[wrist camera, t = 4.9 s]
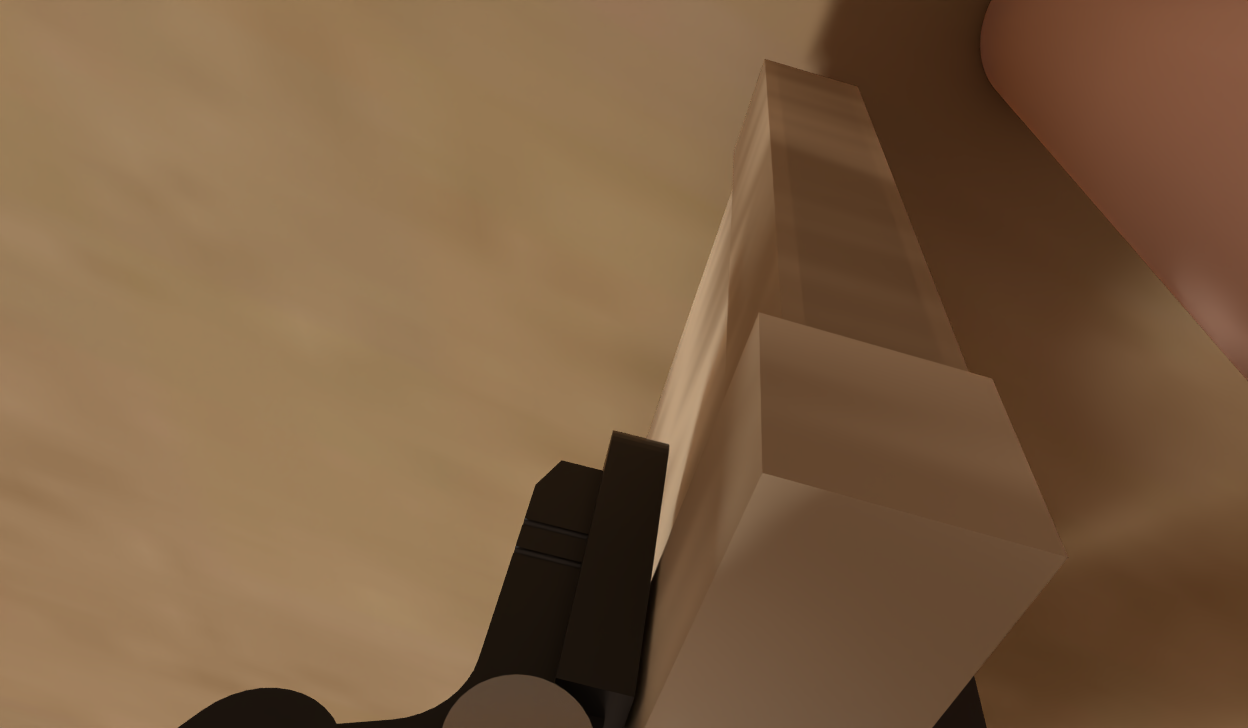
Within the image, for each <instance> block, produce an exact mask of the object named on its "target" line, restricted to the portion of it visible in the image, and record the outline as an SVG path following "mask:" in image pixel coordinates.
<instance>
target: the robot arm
mask: <svg viewBox="0 0 1248 728" xmlns="http://www.w3.org/2000/svg"><path fill="white" fill-rule="evenodd" d="M668 456H669V444H666V443H662V442H658V441H654V440H650V439H646V438H642V437H638V436H634V435H630V434H626V433H622V432H618V431H614V430H613V433H612V436H611V440H610V444H609V448H608V452H607V455H606V459H605V463H604V467H603V471H602V470H598V469H594V468H590V467H586V466H582V465H578V464H574V463H570V462H566V461H561V462H559V463H558V464H557V465H556V466H555V467H554V468H553V469H552V470H551V471H550V472H549V473H548V474H547V475H546V476H545V477H544V478H542V479H541V480H540V481H539V482H538V483H537V484H536V485H535V488H534V491H533V494H532V497H531V501H530V504H529V507H528V510H527V513H526V516H525V519H524V523H523V525H522V528H521V531H520V534H519V537H518V540H517V543H516V547H515V551H514V553H513V556H512V559H511V562H510V565H509V568H508V571H507V574H506V577H505V580H504V583H503V586H502V589H501V592H500V595H499V598H498V601H497V605H496V608H495V611H494V614H493V617H492V620H491V623H490V626H489V629H488V632H487V635H486V638H485V641H484V644H483V647H482V650H481V653H480V656H479V659H478V662H477V664H476V666H475V669H474V671H473V672H472V674H471V675H470V677H469V678H468V680H467V681H466V682H465V684H464V685H463V686H462V687H461V688H460V689H459V690H458V691H457V692H456V693H455V694H454V695H452V696H451V697H450V698H449V699H448V700H446V701H444V702H443V703H441V704H440V705H438V706H436V707H435V708H432V709H430V710H428V711H425V712H423V713H421V714H417V715H414V716H410V717H407V718H400V719H393V720H381V721H368V722H355V723H342V724H336V722H335V720H334V718H333V717H332V716H331V714H330V713H329V712H328V711H327V710H326V709H325V707H323V706H322V705H321V704H319V703H318V702H317V701H316V700H314V699H312V698H310V697H308V696H306V695H304V694H302V693H299V692H296V691H292V690H288V689H281V688H259V689H253V690H246V691H243V692H240V693H236V694H233V695H230V696H228V697H226V698H223V699H221V700H219V701H217V702H215V703H213V704H212V705H210V706H208V707H207V708H205V709H204V710H202V711H201V712H199V713H198V714H196V715H195V716H194V717H192V718H191V719H189V720H188V721H187V722H185V723H184V724H182V725H181V726H180V727H178V728H624V725H625V722H626V720H627V717H628V714H629V712H630V709H631V706H632V703H633V701H634V698H635V691H636V684H637V677H638V670H639V663H640V656H641V649H642V642H643V634H644V627H645V620H646V613H647V606H648V599H649V592H650V585H651V577H652V570H653V563H654V556H655V549H656V542H657V535H658V527H659V520H660V513H661V506H662V499H663V492H664V485H665V478H666V470H667V463H668ZM932 728H986V723H985V719H984V715H983V711H982V707H981V703H980V698H979V694H978V690H977V686H976V682H975V678H974V676H973V677H972V678H971V680H970V681H969V682H968V683H967V685H966V686H965V687H964V689H963V690H962V691H961V692H960V694H959V695H958V696H957V697H956V699H955V700H954V701H953V702H952V704H951V705H950V706H949V707H948V709H947V710H946V711H945V712H944V714H943V715H942V716H941V717H940V719H939V720H938V721H937V722H936V724H935V725H934V726H933V727H932Z"/></svg>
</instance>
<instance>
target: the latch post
mask: <svg viewBox="0 0 1248 728" xmlns="http://www.w3.org/2000/svg"><path fill="white" fill-rule="evenodd" d="M980 52H981V60H982V64H983V68H984V71H985V73H986V75H987V78H988V80H989V81H990V83H991V85H992V86H993V88H994V89H995V90H996V91H997V92H998V93H999V95H1000V96H1001V97H1002V98H1003V99H1004V100H1005V102H1006V103H1007V104H1008V105H1009V106H1010V107H1011V108H1012V110H1013V111H1014V112H1015V113H1016V114H1017V115H1018V117H1019V118H1020V119H1021V120H1022V121H1023V122H1024V123H1025V125H1026V126H1027V127H1028V128H1029V129H1030V130H1031V132H1032V133H1033V134H1034V135H1035V136H1036V137H1037V138H1038V140H1039V141H1040V142H1041V143H1042V144H1043V145H1044V147H1045V148H1046V149H1047V150H1048V151H1049V152H1050V153H1051V155H1052V156H1053V157H1054V158H1055V159H1056V160H1057V162H1058V163H1059V164H1060V165H1061V166H1062V167H1063V168H1064V170H1065V171H1066V172H1067V173H1068V174H1069V175H1070V177H1071V178H1072V179H1073V180H1074V181H1075V182H1076V183H1077V185H1078V186H1079V187H1080V188H1081V189H1082V190H1083V192H1084V193H1085V194H1086V195H1087V196H1088V197H1089V198H1090V200H1091V201H1092V202H1093V203H1094V204H1095V205H1096V207H1097V208H1098V209H1099V210H1100V211H1101V212H1102V213H1103V215H1104V216H1105V217H1106V218H1107V219H1108V220H1109V222H1110V223H1111V224H1112V225H1113V226H1114V227H1115V228H1116V230H1117V231H1118V232H1119V233H1120V234H1121V235H1122V237H1123V238H1124V239H1125V240H1126V241H1127V242H1128V243H1129V245H1130V246H1131V247H1132V248H1133V249H1134V250H1135V252H1136V253H1137V254H1138V255H1139V256H1140V257H1141V258H1142V260H1143V261H1144V262H1145V263H1146V264H1147V265H1148V266H1149V268H1150V269H1151V270H1152V271H1153V272H1154V273H1155V275H1156V276H1157V277H1158V278H1159V279H1160V280H1161V281H1162V283H1163V284H1164V285H1165V286H1166V287H1167V288H1168V290H1169V291H1170V292H1171V293H1172V294H1173V295H1174V296H1175V298H1176V299H1177V300H1178V301H1179V302H1180V303H1181V305H1182V306H1183V307H1184V308H1185V309H1186V310H1187V311H1188V313H1189V314H1190V315H1191V316H1192V317H1193V318H1194V320H1195V321H1196V322H1197V323H1198V324H1199V325H1200V326H1201V328H1202V329H1203V330H1204V331H1205V332H1206V333H1207V335H1208V336H1209V337H1210V338H1211V339H1212V340H1213V341H1214V343H1215V344H1216V345H1217V346H1218V347H1219V348H1220V350H1221V351H1222V352H1223V353H1224V354H1225V355H1226V356H1227V358H1228V359H1229V360H1230V361H1231V362H1232V363H1233V365H1234V366H1235V367H1236V368H1237V369H1238V370H1239V371H1240V373H1241V374H1242V375H1243V376H1244V377H1245V378H1246V380H1247V381H1248V0H991V1H990V4H989V6H988V8H987V11H986V13H985V17H984V20H983V24H982V29H981V35H980Z"/></svg>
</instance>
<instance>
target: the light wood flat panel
mask: <svg viewBox="0 0 1248 728" xmlns="http://www.w3.org/2000/svg"><path fill="white" fill-rule="evenodd" d="M646 439H650V440H654V441H658V442H662V443H666V444H669V456H668V463H667V470H666V478H665V485H664V492H663V499H662V506H661V513H660V520H659V527H658V535H657V542H656V549H655V556H654V563H653V570H652V577H651V585H650V592H649V599H648V606H647V613H646V620H645V627H644V634H643V642H642V649H641V656H640V663H639V670H638V677H637V684H636V691H635V698H634V701H633V703H632V706H631V709H630V712H629V714H628V717H627V720H626V722H625V725H624V728H932V727H933V726H934V725H935V724H936V722H937V721H938V720H939V719H940V717H941V716H942V715H943V714H944V712H945V711H946V710H947V709H948V707H949V706H950V705H951V704H952V702H953V701H954V700H955V699H956V697H957V696H958V695H959V694H960V692H961V691H962V690H963V689H964V687H965V686H966V685H967V683H968V682H969V681H970V680H971V678H972V677H973V676H974V675H975V673H976V672H977V671H978V670H979V668H980V667H981V666H982V665H983V663H984V662H985V661H986V660H987V658H988V657H989V656H990V655H991V653H992V652H993V651H994V650H995V648H996V647H997V646H998V645H999V643H1000V642H1001V641H1002V640H1003V638H1004V637H1005V636H1006V635H1007V633H1008V632H1009V631H1010V630H1011V628H1012V627H1013V626H1014V625H1015V623H1016V622H1017V621H1018V620H1019V618H1020V617H1021V616H1022V615H1023V613H1024V612H1025V611H1026V610H1027V608H1028V607H1029V606H1030V605H1031V603H1032V602H1033V601H1034V600H1035V598H1036V597H1037V596H1038V595H1039V593H1040V592H1041V591H1042V590H1043V588H1044V587H1045V586H1046V585H1047V583H1048V582H1049V581H1050V580H1051V578H1052V577H1053V576H1054V575H1055V573H1056V572H1057V571H1058V570H1059V568H1060V567H1061V566H1062V565H1063V563H1064V562H1065V561H1066V560H1067V558H1068V555H1067V553H1066V551H1065V548H1064V546H1063V544H1062V541H1061V539H1060V537H1059V534H1058V532H1057V530H1056V527H1055V525H1054V523H1053V520H1052V518H1051V516H1050V513H1049V511H1048V509H1047V506H1046V504H1045V501H1044V499H1043V497H1042V494H1041V492H1040V490H1039V487H1038V485H1037V483H1036V480H1035V478H1034V476H1033V473H1032V471H1031V469H1030V466H1029V464H1028V462H1027V459H1026V457H1025V454H1024V452H1023V450H1022V447H1021V445H1020V443H1019V440H1018V438H1017V436H1016V433H1015V431H1014V429H1013V426H1012V424H1011V422H1010V419H1009V417H1008V415H1007V412H1006V410H1005V408H1004V405H1003V403H1002V400H1001V398H1000V396H999V393H998V391H997V389H996V386H995V384H994V382H993V379H992V378H989V377H985V376H981V375H978V374H974V373H971V372H969V371H968V368H967V365H966V363H965V360H964V358H963V355H962V353H961V350H960V347H959V345H958V342H957V340H956V337H955V335H954V332H953V330H952V327H951V324H950V322H949V319H948V317H947V314H946V312H945V309H944V306H943V304H942V301H941V299H940V296H939V294H938V291H937V288H936V286H935V283H934V281H933V278H932V276H931V273H930V271H929V268H928V265H927V263H926V260H925V258H924V255H923V253H922V250H921V247H920V245H919V242H918V240H917V237H916V235H915V232H914V230H913V227H912V224H911V222H910V219H909V217H908V214H907V212H906V209H905V206H904V204H903V201H902V199H901V196H900V194H899V191H898V188H897V186H896V183H895V181H894V178H893V176H892V173H891V171H890V168H889V165H888V163H887V160H886V158H885V155H884V153H883V150H882V147H881V145H880V142H879V140H878V137H877V135H876V132H875V130H874V127H873V124H872V122H871V119H870V117H869V114H868V112H867V109H866V106H865V104H864V101H863V99H862V96H861V94H860V91H859V88H858V86H854V85H851V84H847V83H844V82H841V81H837V80H834V79H830V78H827V77H824V76H820V75H817V74H814V73H810V72H807V71H803V70H800V69H797V68H793V67H790V66H786V65H783V64H780V63H776V62H773V61H770V60H766V59H765V60H764V63H763V66H762V69H761V72H760V75H759V78H758V81H757V84H756V87H755V90H754V92H753V95H752V98H751V101H750V104H749V107H748V110H747V113H746V116H745V119H744V122H743V125H742V128H741V131H740V134H739V137H738V140H737V143H736V146H735V149H734V162H733V188H732V192H731V195H730V198H729V201H728V204H727V207H726V210H725V212H724V215H723V218H722V221H721V224H720V227H719V230H718V233H717V236H716V238H715V241H714V244H713V247H712V250H711V253H710V256H709V259H708V262H707V264H706V267H705V270H704V273H703V276H702V279H701V282H700V285H699V288H698V290H697V293H696V296H695V299H694V302H693V305H692V308H691V311H690V313H689V316H688V319H687V322H686V325H685V328H684V331H683V334H682V337H681V339H680V342H679V345H678V348H677V351H676V354H675V357H674V360H673V363H672V365H671V368H670V371H669V374H668V377H667V380H666V383H665V386H664V389H663V391H662V394H661V397H660V400H659V403H658V406H657V409H656V412H655V415H654V417H653V420H652V423H651V426H650V429H649V432H648V435H647V438H646Z"/></svg>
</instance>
